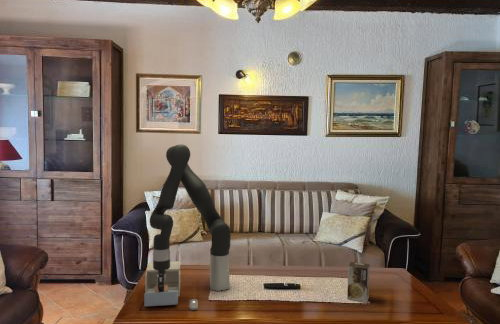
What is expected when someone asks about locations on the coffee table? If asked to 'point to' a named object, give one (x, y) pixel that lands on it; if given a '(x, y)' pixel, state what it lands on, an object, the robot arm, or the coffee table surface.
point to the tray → (161, 297)
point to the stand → (193, 304)
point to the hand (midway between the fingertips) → (161, 294)
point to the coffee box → (358, 281)
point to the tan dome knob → (164, 288)
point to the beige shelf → (171, 276)
